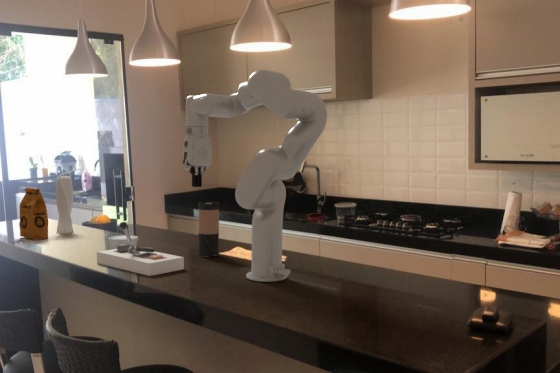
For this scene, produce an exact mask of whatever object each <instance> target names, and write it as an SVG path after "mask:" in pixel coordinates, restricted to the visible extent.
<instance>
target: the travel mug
mask: <svg viewBox="0 0 560 373" xmlns="http://www.w3.org/2000/svg"><path fill="white" fill-rule="evenodd" d="M219 209H220V202H218V201H207V202H202V201H199V202H198V221H197V222H198V225H197V226H198V227H197V232H198V234H197V235H198V238H197V240H198V256H199V255H200V256H214V255H218V256H219V242H220V241H219V239H220V238H219V236H220V213H219V212H220V211H219ZM200 256H199V257H200Z"/></svg>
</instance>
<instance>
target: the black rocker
mask: <svg viewBox="0 0 560 373" xmlns="http://www.w3.org/2000/svg"><path fill="white" fill-rule="evenodd" d="M135 251H140V252H154V251H155V248H153V247H145V246H144V247H140V246H137V247H136V250H135Z"/></svg>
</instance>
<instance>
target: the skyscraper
mask: <svg viewBox="0 0 560 373" xmlns="http://www.w3.org/2000/svg"><path fill="white" fill-rule="evenodd" d="M65 174H69V176H68V175H65ZM55 200H56V201H55V202H56V207H57V212H58V220H57V221H58V222H57V227H56V234H65V235H67V234H72V233H74V228H73V222H72V216H71V214H72V210H73V204H74V187H73V180H72V172H69V171H68V172H62V173H60V174H59V175H58V176H57V180H56V188H55Z"/></svg>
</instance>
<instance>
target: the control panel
mask: <svg viewBox="0 0 560 373" xmlns="http://www.w3.org/2000/svg"><path fill="white" fill-rule="evenodd" d="M130 250H131V247H130V248H128V252H126V253H119V252H117V249H113V250H111V249H108V250H107V249H105V250H100V251H96V264H99V265H103V266H106V267H111V268H115V269H118V270H119V269H120V270H123V271H124V270H125V271H128V272H132V273H136V274H140V275H144V276H147V277H151V276H157V275H161V274H167V273H171V272H177V271H182V270H184V269H185V257H184V256H179V255H175V254H169V253H164V252H159V251H155V250H154V252H140V251H135V250H136V249H134V253H132V252H131V251H130ZM151 255H163V259H159V260H152V259H150V256H151Z"/></svg>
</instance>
